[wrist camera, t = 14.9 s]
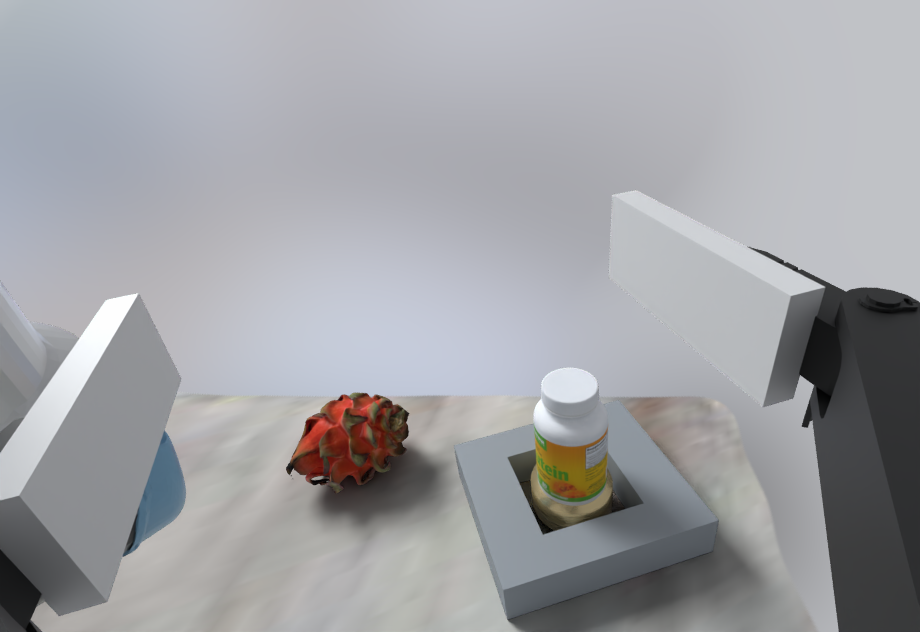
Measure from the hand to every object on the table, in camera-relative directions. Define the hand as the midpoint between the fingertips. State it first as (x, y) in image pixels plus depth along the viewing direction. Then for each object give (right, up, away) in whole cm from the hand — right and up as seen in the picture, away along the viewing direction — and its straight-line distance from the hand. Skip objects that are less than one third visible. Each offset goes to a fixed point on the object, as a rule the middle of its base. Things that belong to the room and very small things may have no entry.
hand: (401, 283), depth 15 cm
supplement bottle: (+11, -14, +27) cm, 32 cm away
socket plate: (+11, -17, +28) cm, 35 cm away
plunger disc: (+11, -16, +28) cm, 34 cm away
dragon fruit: (-8, -16, +35) cm, 40 cm away
